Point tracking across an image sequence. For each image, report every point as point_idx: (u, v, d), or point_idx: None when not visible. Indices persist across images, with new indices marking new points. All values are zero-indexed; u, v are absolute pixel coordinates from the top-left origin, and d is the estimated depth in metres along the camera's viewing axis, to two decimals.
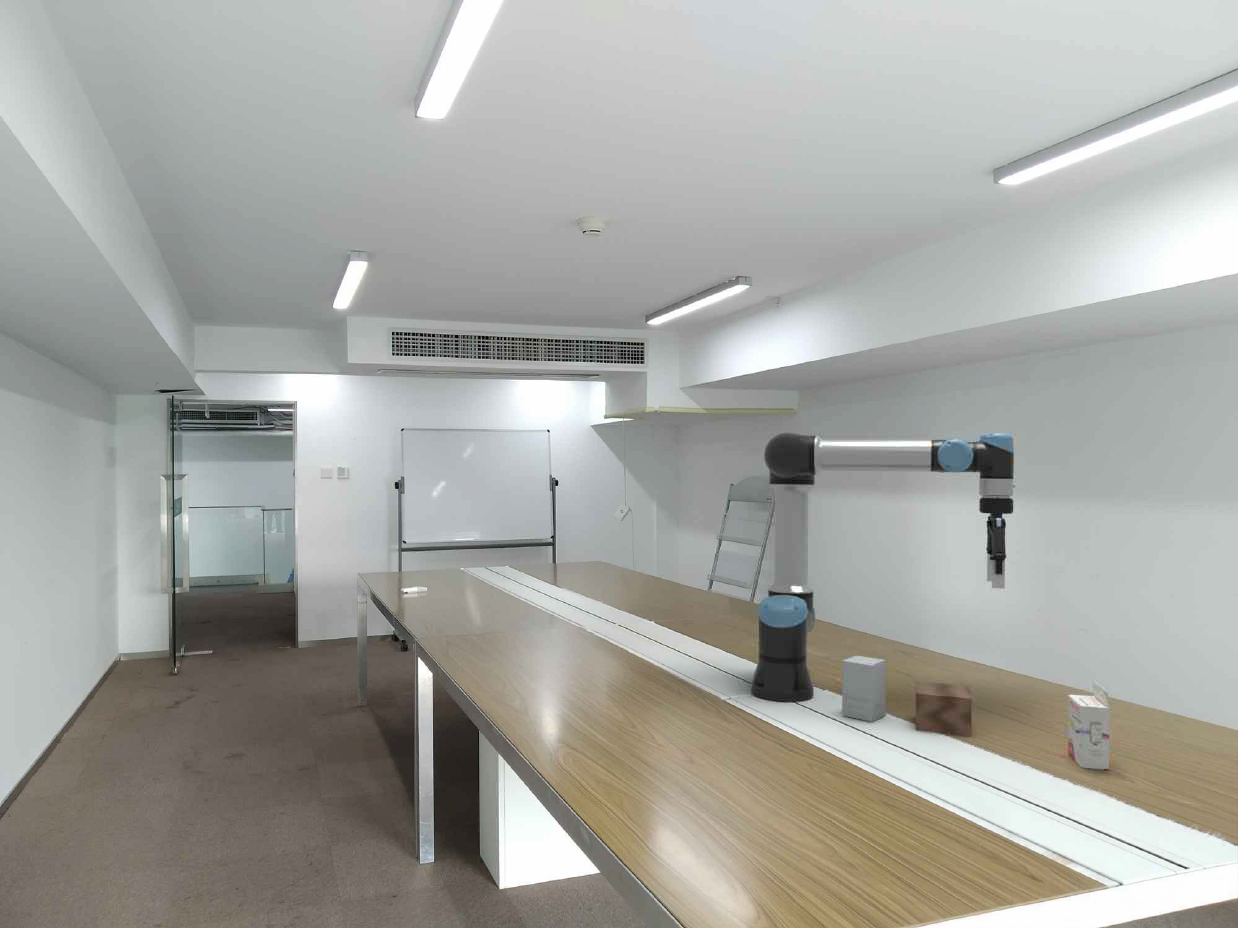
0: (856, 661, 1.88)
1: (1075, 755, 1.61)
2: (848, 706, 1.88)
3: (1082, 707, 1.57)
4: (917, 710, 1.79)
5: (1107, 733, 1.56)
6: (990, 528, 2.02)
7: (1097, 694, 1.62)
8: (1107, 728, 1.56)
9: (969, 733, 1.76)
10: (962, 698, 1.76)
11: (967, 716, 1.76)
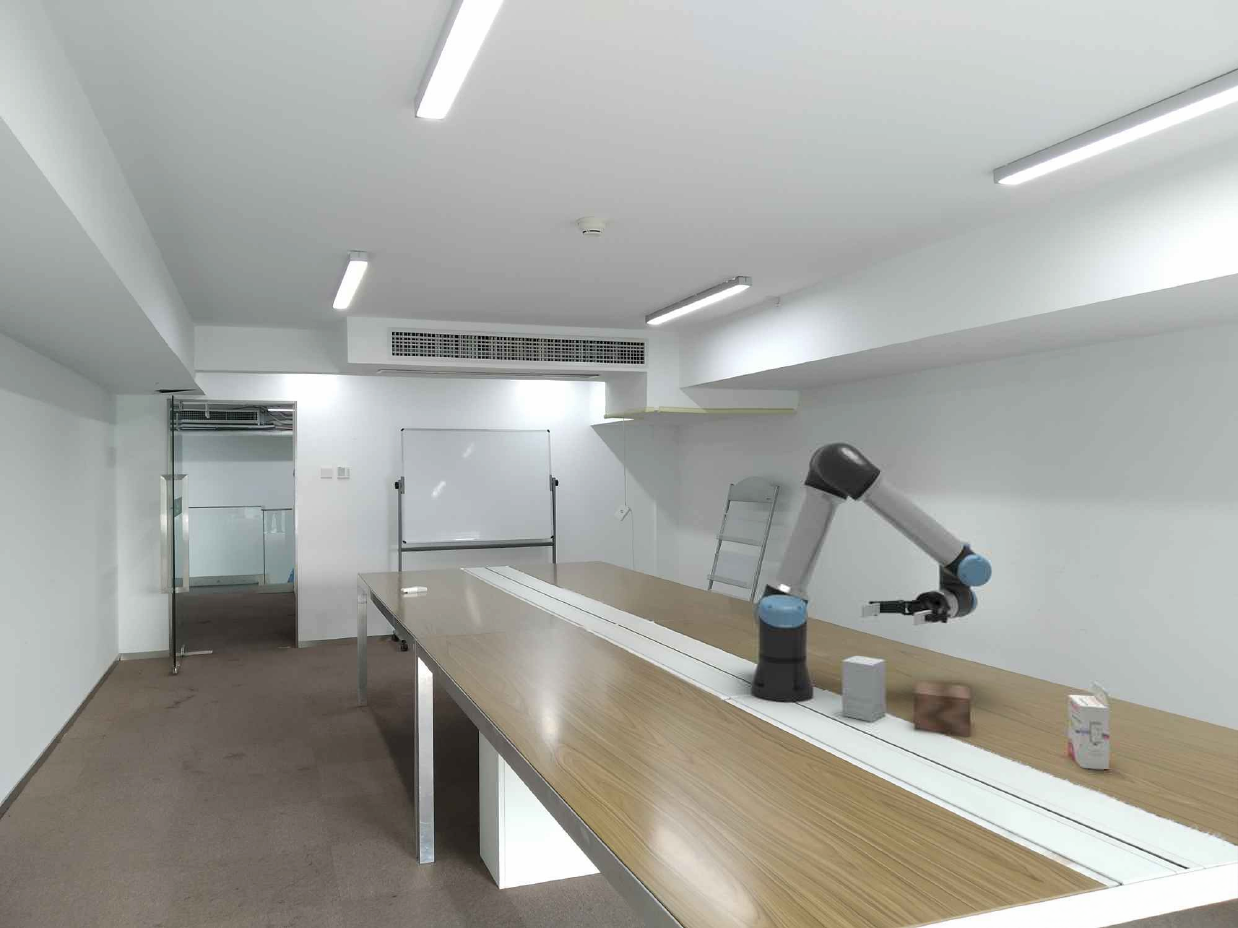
0: (856, 661, 1.88)
1: (1075, 755, 1.61)
2: (848, 706, 1.88)
3: (1082, 707, 1.57)
4: (916, 710, 1.80)
5: (1107, 733, 1.56)
6: None
7: (1097, 694, 1.62)
8: (1107, 728, 1.56)
9: (968, 733, 1.76)
10: (961, 698, 1.76)
11: (966, 716, 1.76)
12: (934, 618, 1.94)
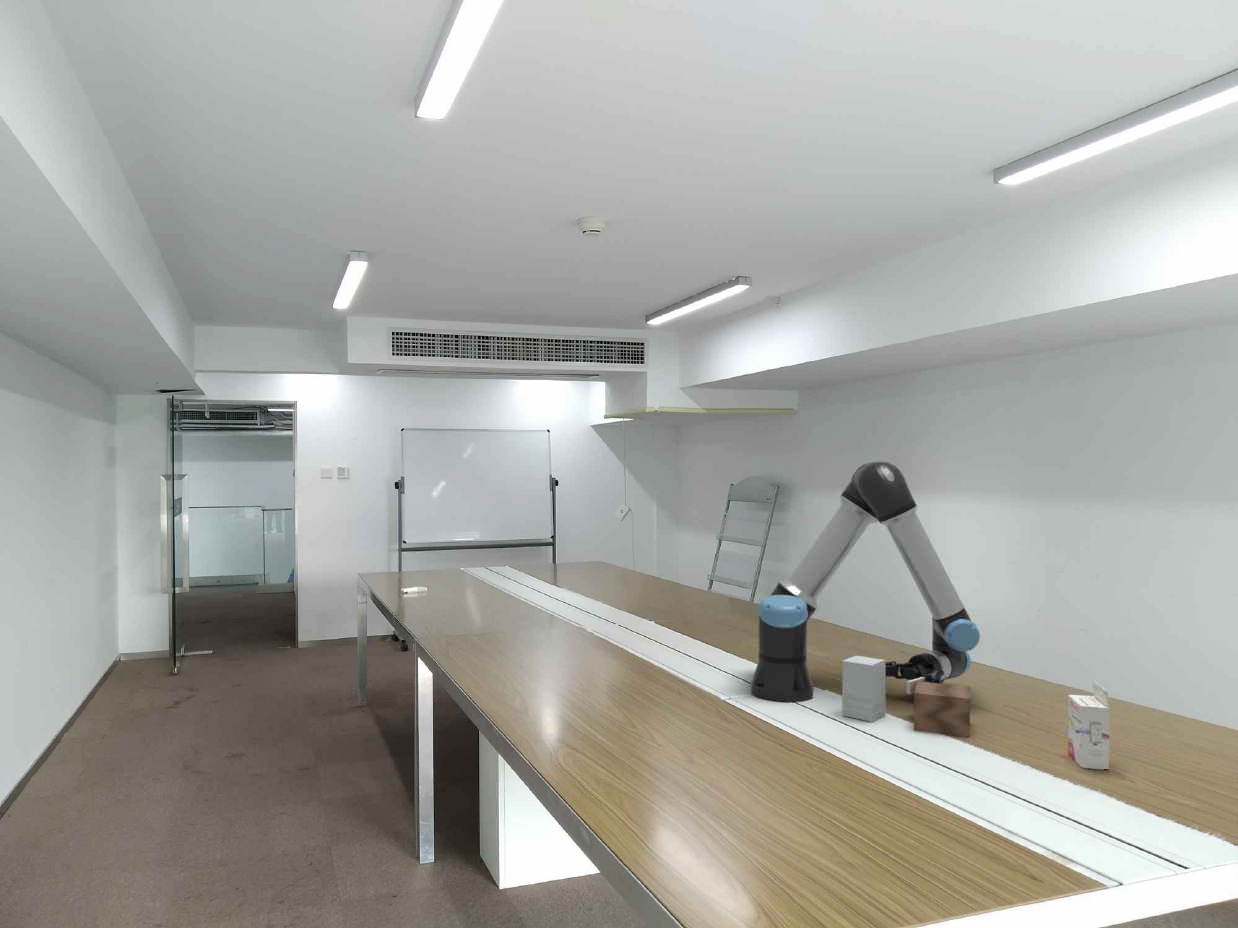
0: (856, 661, 1.88)
1: (1075, 755, 1.61)
2: (848, 706, 1.88)
3: (1082, 707, 1.57)
4: (915, 710, 1.79)
5: (1107, 733, 1.56)
6: (923, 668, 2.00)
7: (1097, 694, 1.62)
8: (1107, 728, 1.56)
9: (967, 733, 1.75)
10: (960, 698, 1.76)
11: (966, 716, 1.75)
12: None
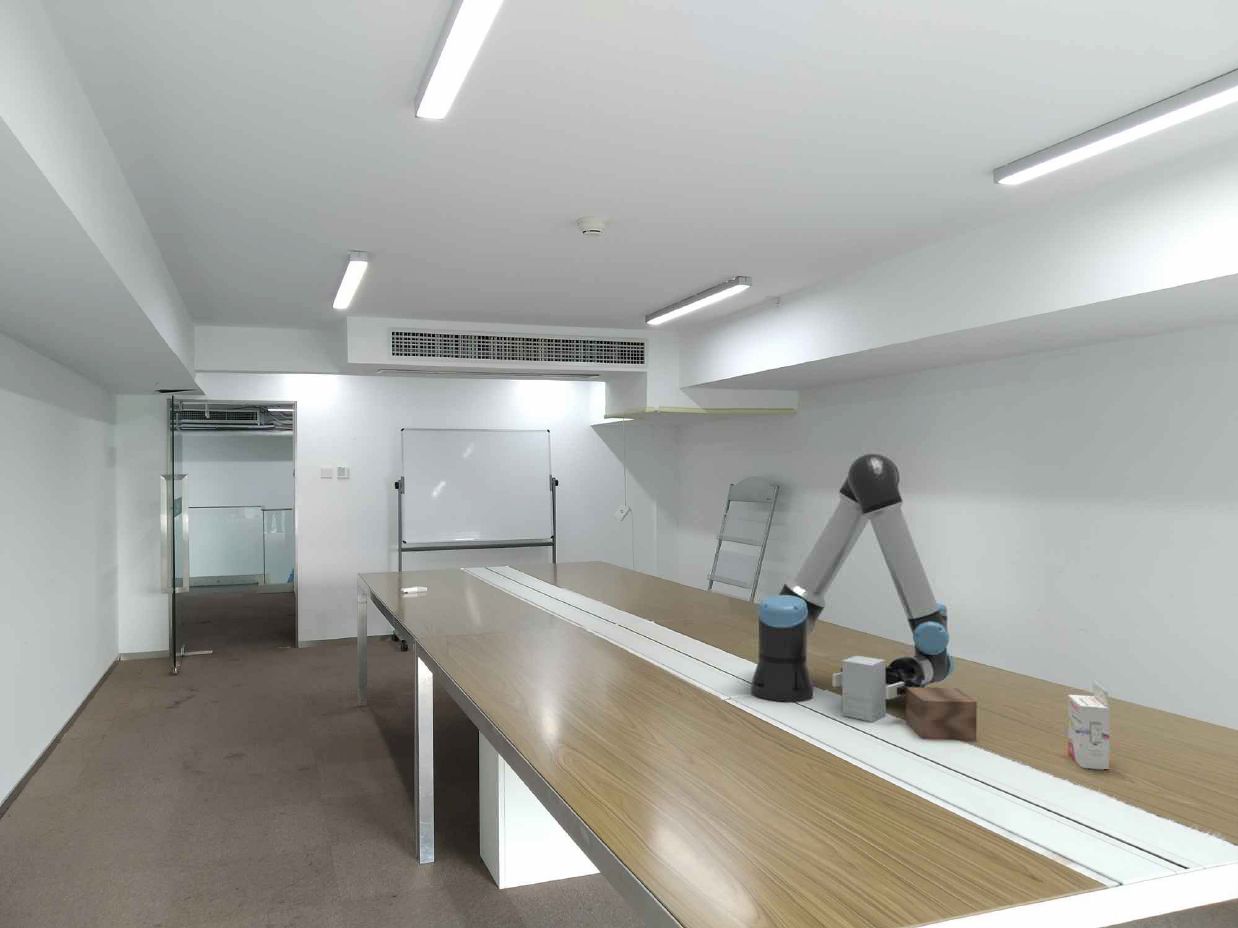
0: (856, 661, 1.88)
1: (1075, 755, 1.61)
2: (848, 706, 1.88)
3: (1082, 707, 1.57)
4: (924, 718, 1.74)
5: (1107, 733, 1.56)
6: None
7: (1097, 694, 1.62)
8: (1107, 728, 1.56)
9: (974, 737, 1.73)
10: (967, 702, 1.73)
11: (973, 720, 1.73)
12: None
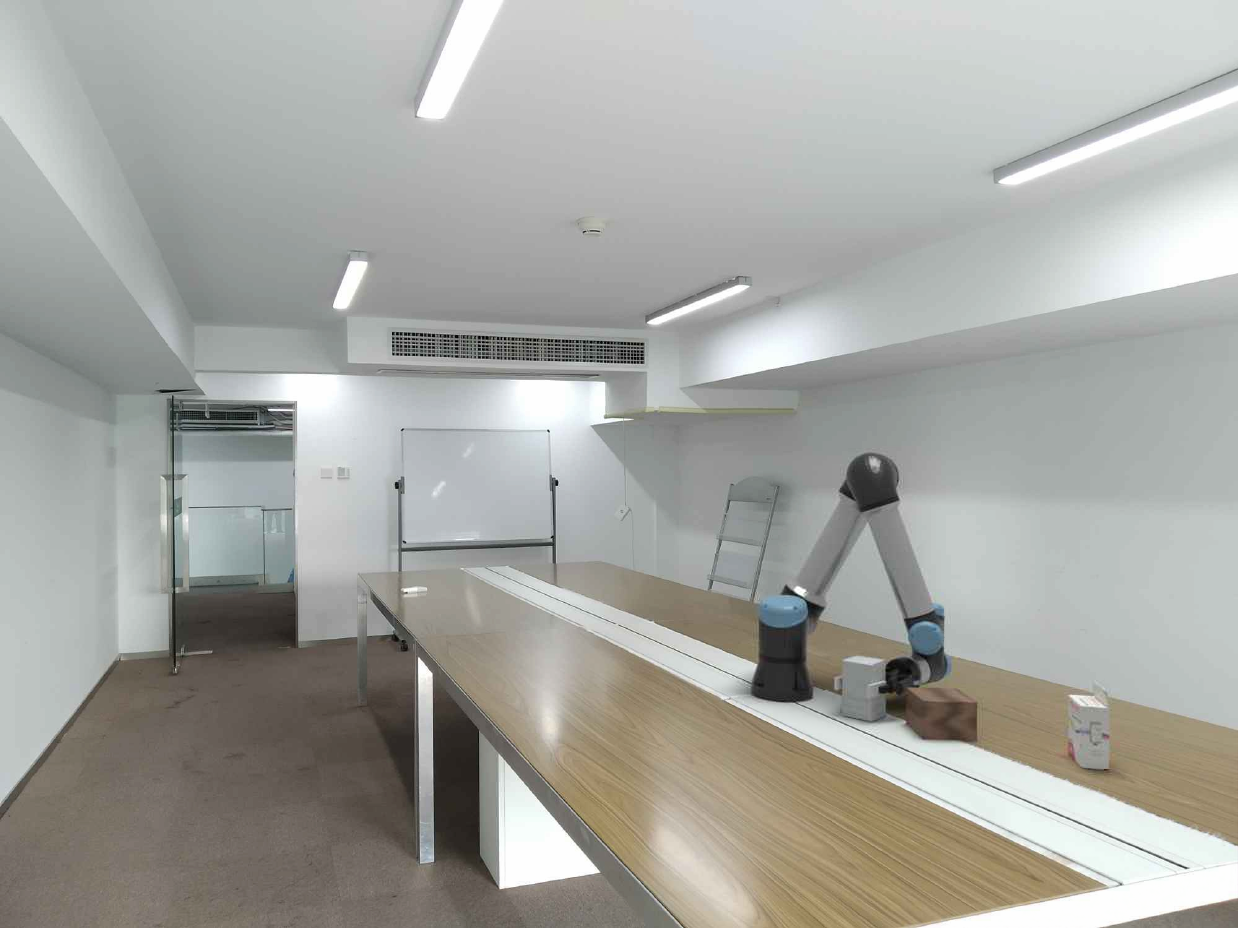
0: (856, 661, 1.88)
1: (1075, 755, 1.61)
2: (848, 706, 1.88)
3: (1082, 707, 1.57)
4: (924, 718, 1.73)
5: (1107, 733, 1.56)
6: (898, 673, 1.94)
7: (1097, 694, 1.62)
8: (1107, 728, 1.56)
9: (975, 737, 1.73)
10: (968, 702, 1.73)
11: (973, 720, 1.73)
12: (888, 690, 1.86)
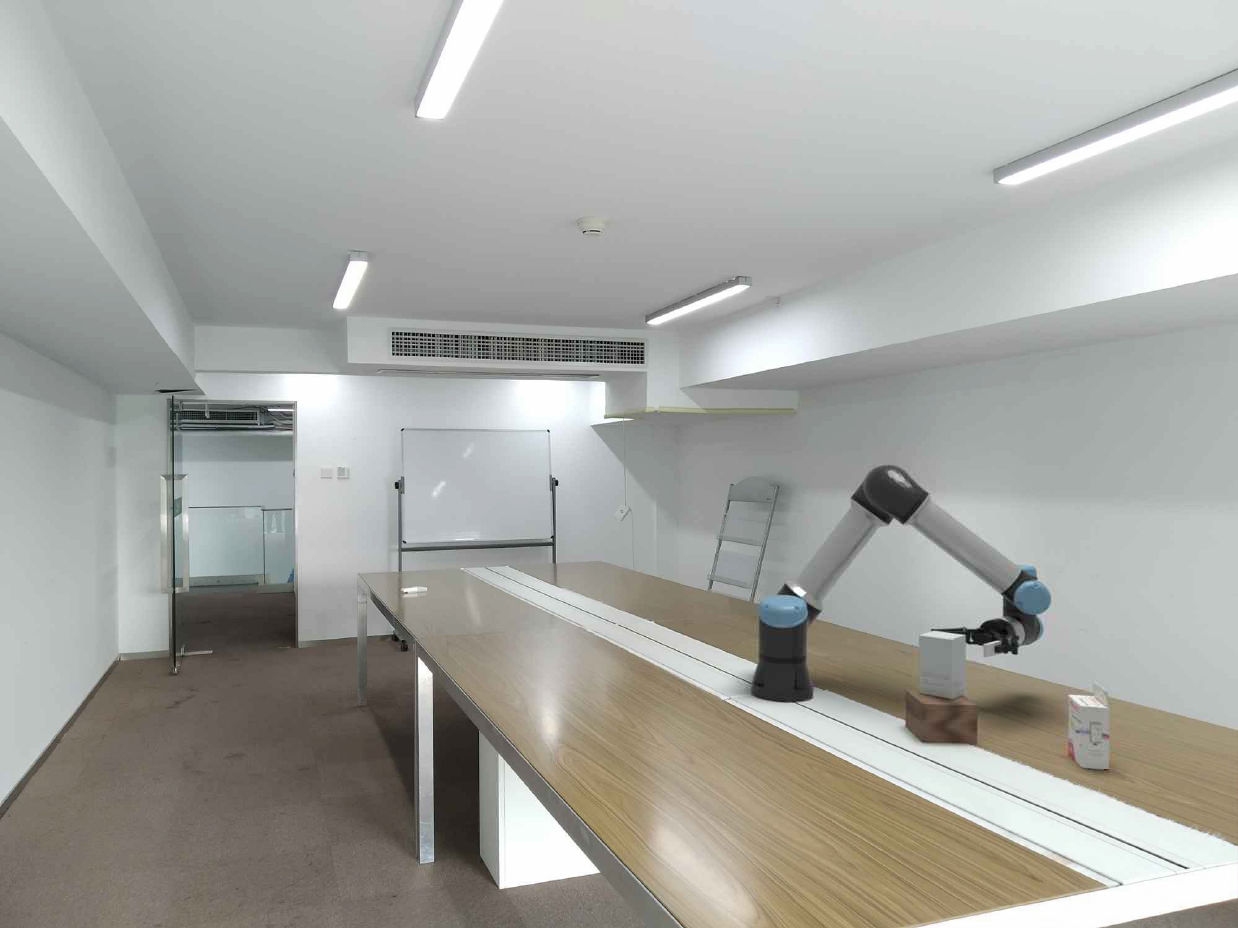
0: (935, 636, 1.78)
1: (1075, 755, 1.61)
2: (926, 683, 1.78)
3: (1082, 707, 1.57)
4: (924, 721, 1.71)
5: (1107, 733, 1.56)
6: None
7: (1097, 694, 1.62)
8: (1107, 728, 1.56)
9: (975, 741, 1.71)
10: (968, 705, 1.71)
11: (973, 723, 1.71)
12: (1004, 649, 1.83)
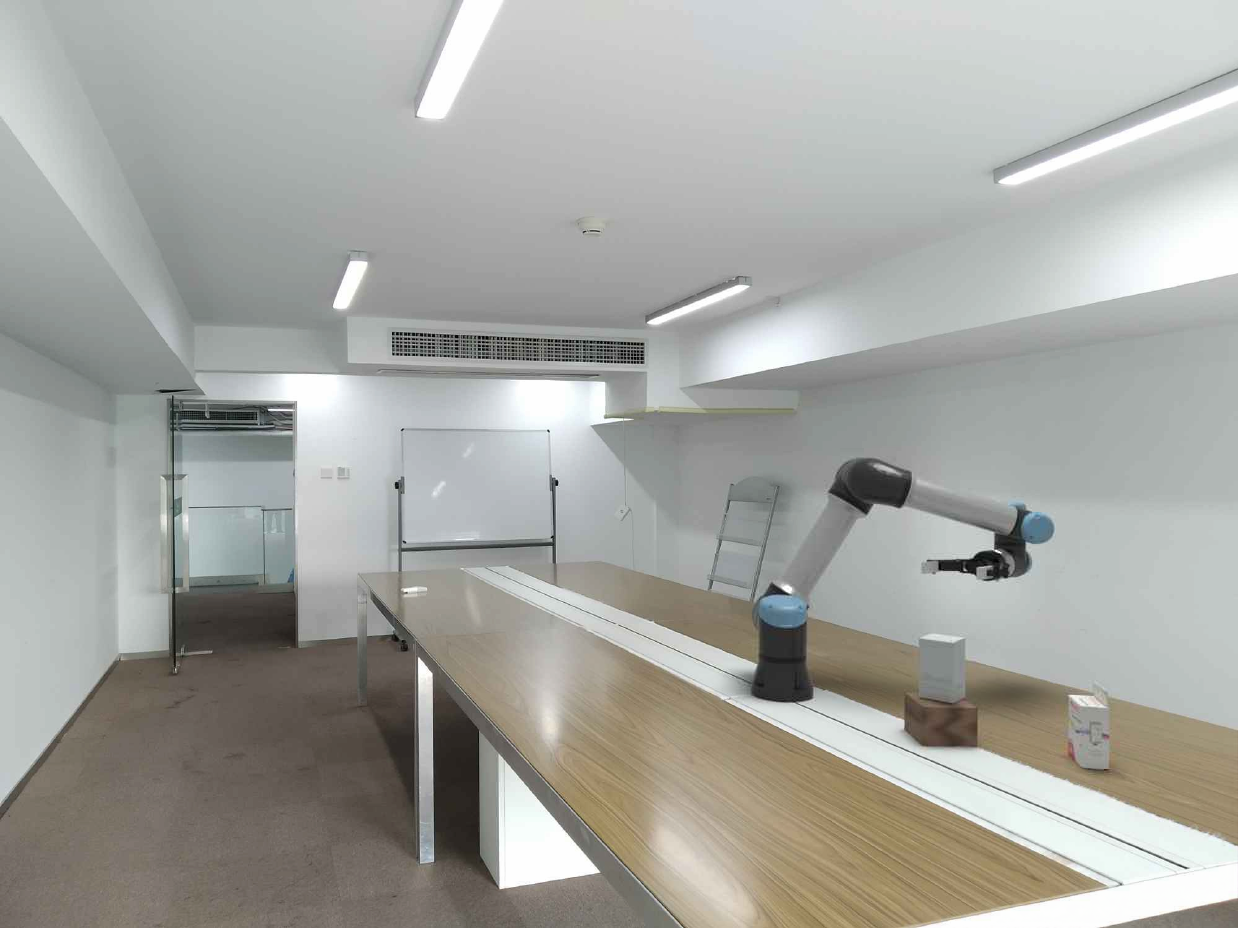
0: (935, 639, 1.74)
1: (1075, 755, 1.61)
2: (926, 687, 1.75)
3: (1082, 707, 1.57)
4: (924, 725, 1.69)
5: (1107, 733, 1.56)
6: None
7: (1097, 694, 1.62)
8: (1107, 728, 1.56)
9: (975, 744, 1.69)
10: (968, 708, 1.69)
11: (973, 726, 1.69)
12: (996, 573, 1.95)
